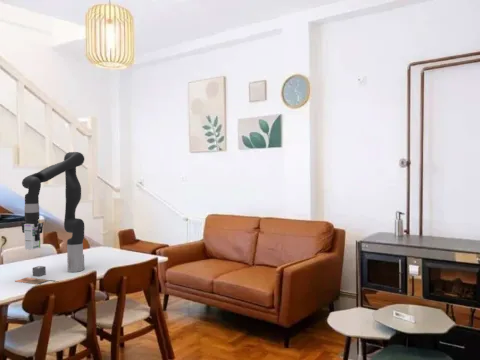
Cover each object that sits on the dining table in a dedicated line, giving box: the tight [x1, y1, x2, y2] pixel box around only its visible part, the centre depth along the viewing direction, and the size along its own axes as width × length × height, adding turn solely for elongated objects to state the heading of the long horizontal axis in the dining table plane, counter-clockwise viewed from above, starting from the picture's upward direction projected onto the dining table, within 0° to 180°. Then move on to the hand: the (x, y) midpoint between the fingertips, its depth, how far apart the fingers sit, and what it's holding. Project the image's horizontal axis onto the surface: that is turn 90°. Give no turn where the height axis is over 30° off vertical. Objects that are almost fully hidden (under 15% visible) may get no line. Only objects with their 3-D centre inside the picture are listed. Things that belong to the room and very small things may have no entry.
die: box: [32, 265, 47, 278], centre depth 239 cm, size 5×5×5 cm
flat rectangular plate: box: [14, 276, 55, 285], centre depth 225 cm, size 8×25×1 cm, turn 70°
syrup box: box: [24, 224, 41, 251], centre depth 225 cm, size 6×6×14 cm
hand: (32, 240), depth 226 cm, fingers closed on syrup box, 6 cm apart
